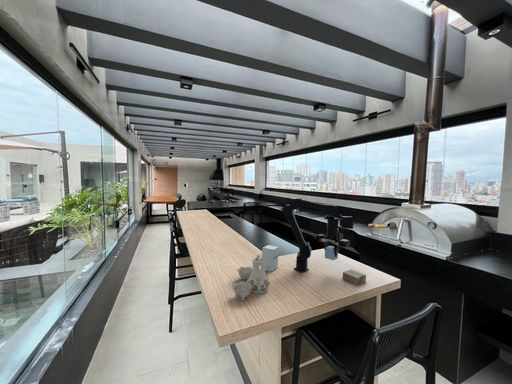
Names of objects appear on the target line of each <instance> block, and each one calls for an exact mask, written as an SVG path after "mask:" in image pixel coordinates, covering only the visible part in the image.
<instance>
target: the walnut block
mask: <svg viewBox="0 0 512 384" xmlns="http://www.w3.org/2000/svg"><path fill="white" fill-rule="evenodd" d="M366 278H367V274H366V273H362V272H360V271H357V270H355V269H349V270H345V271H343V272H342V280H344V281H346V282H349V283H350V284H354V285H355V286H359V285H361V284H363V282H364V283H366V282H367V280H366Z"/></svg>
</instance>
